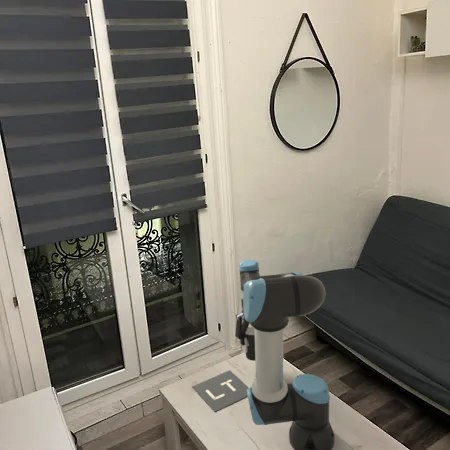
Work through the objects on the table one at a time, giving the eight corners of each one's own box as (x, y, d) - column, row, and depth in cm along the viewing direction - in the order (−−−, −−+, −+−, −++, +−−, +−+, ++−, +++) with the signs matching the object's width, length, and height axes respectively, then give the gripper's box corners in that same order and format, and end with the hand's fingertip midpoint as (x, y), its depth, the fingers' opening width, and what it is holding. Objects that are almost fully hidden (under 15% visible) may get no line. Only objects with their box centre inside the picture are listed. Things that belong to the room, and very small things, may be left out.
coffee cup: (254, 346, 203) (253, 315, 198) (270, 356, 195) (269, 324, 191) (237, 355, 197) (236, 324, 192) (253, 365, 190) (252, 333, 185)
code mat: (254, 393, 186) (254, 392, 185) (214, 412, 177) (214, 411, 177) (229, 370, 200) (229, 370, 200) (192, 387, 192) (192, 386, 192)
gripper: (266, 286, 195) (268, 334, 203) (223, 302, 185) (227, 351, 193) (277, 293, 189) (278, 342, 197) (234, 309, 179) (237, 360, 187)
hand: (253, 347), depth 195 cm, fingers closed on coffee cup, 8 cm apart
